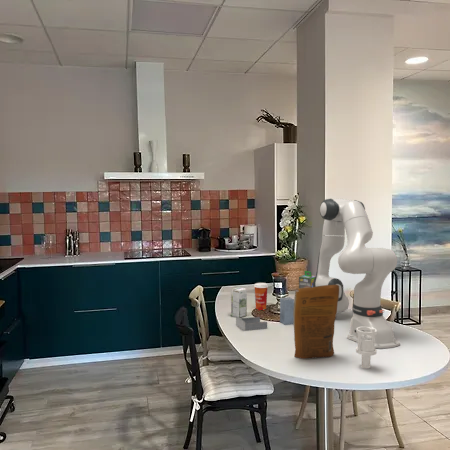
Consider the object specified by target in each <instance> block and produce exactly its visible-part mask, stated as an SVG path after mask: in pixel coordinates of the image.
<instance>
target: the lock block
mask: <svg viewBox="0 0 450 450" xmlns="http://www.w3.org/2000/svg"><path fill="white" fill-rule="evenodd" d="M293 311H294V298H292V297H288V296H287V297H280V298H279V323H280V324H282V325H283V326H288V325H294V317H293Z"/></svg>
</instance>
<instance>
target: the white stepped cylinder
mask: <svg viewBox="0 0 450 450" xmlns="http://www.w3.org/2000/svg"><path fill="white" fill-rule="evenodd" d="M359 330H370V332H363V331H359ZM356 332H357V333H358V342H357V346H356V347H355V353H356V354H358V355H361V364H360V366H361V368H362V369H366V370H367V369H370V368H371V356H372V357H373V356H375V355H377V351H378V350H377V348H375V335H376V334H377V330H376V329H375V328H371V327H357V328H356ZM364 336H365V337H364Z"/></svg>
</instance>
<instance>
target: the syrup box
mask: <svg viewBox="0 0 450 450" xmlns="http://www.w3.org/2000/svg"><path fill="white" fill-rule="evenodd" d="M230 293H231V297H230V298H231V299H230V300H231V302H230V303H231V308H230V309H231V312H230V314H231V315H230V316H231V317H233V318H236V317H239V318H245V317H247V315H248V314H247V307H248V306H247V305H248V302H247V300H248V297H247V296H248V294H247V293H248V290H247V288H244V287H240V286H239V287H236V288H231V292H230Z"/></svg>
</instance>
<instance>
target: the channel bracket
mask: <svg viewBox="0 0 450 450" xmlns="http://www.w3.org/2000/svg"><path fill="white" fill-rule="evenodd" d="M235 325H236V326H237V327H238V328H239V329H240V330H241V331H242V332H245V331H256V330H264V329H265V330H266V329H268V321H261V316H253V317H252V316H251V317H241V318H239V317H235Z"/></svg>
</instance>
